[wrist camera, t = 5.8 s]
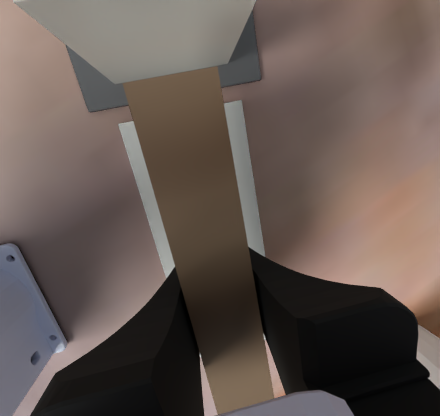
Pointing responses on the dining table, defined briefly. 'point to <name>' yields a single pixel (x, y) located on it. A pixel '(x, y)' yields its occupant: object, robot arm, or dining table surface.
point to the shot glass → (429, 353)
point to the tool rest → (242, 174)
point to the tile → (144, 33)
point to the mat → (115, 95)
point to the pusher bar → (204, 227)
